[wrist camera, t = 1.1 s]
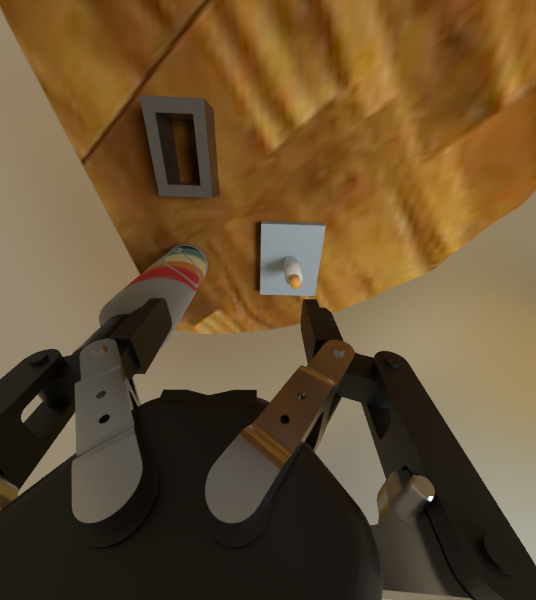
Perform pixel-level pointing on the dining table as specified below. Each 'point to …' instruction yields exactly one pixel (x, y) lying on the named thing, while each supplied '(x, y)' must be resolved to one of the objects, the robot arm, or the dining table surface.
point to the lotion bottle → (156, 290)
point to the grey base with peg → (290, 257)
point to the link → (163, 145)
